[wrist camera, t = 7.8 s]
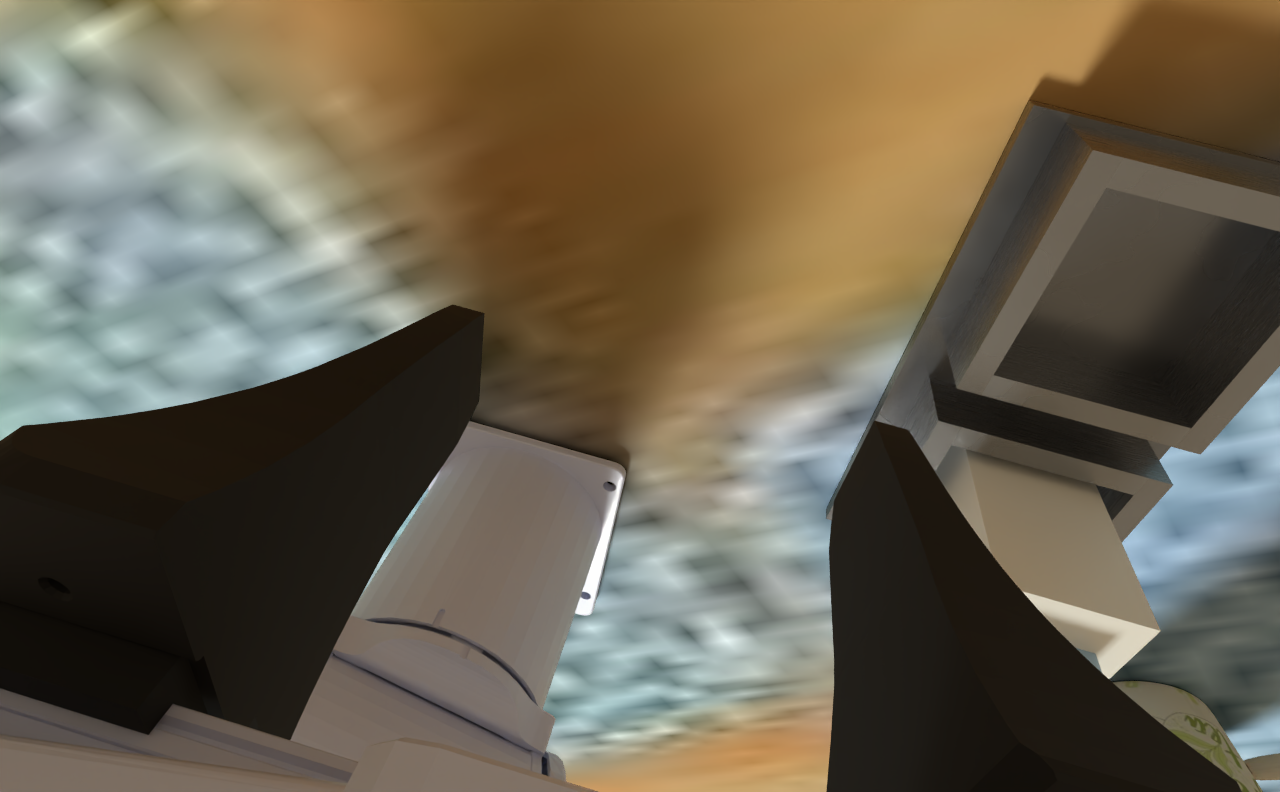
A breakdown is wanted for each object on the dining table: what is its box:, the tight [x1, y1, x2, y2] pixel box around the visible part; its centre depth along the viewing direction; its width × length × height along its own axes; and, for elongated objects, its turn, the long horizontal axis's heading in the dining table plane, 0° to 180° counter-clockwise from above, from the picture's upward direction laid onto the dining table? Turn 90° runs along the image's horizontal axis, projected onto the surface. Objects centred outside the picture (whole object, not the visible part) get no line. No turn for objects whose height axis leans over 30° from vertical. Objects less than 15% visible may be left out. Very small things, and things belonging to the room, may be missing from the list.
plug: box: [935, 445, 1161, 679], centre depth 21 cm, size 4×4×8 cm
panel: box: [826, 100, 1280, 543], centre depth 22 cm, size 15×9×3 cm, turn 169°
